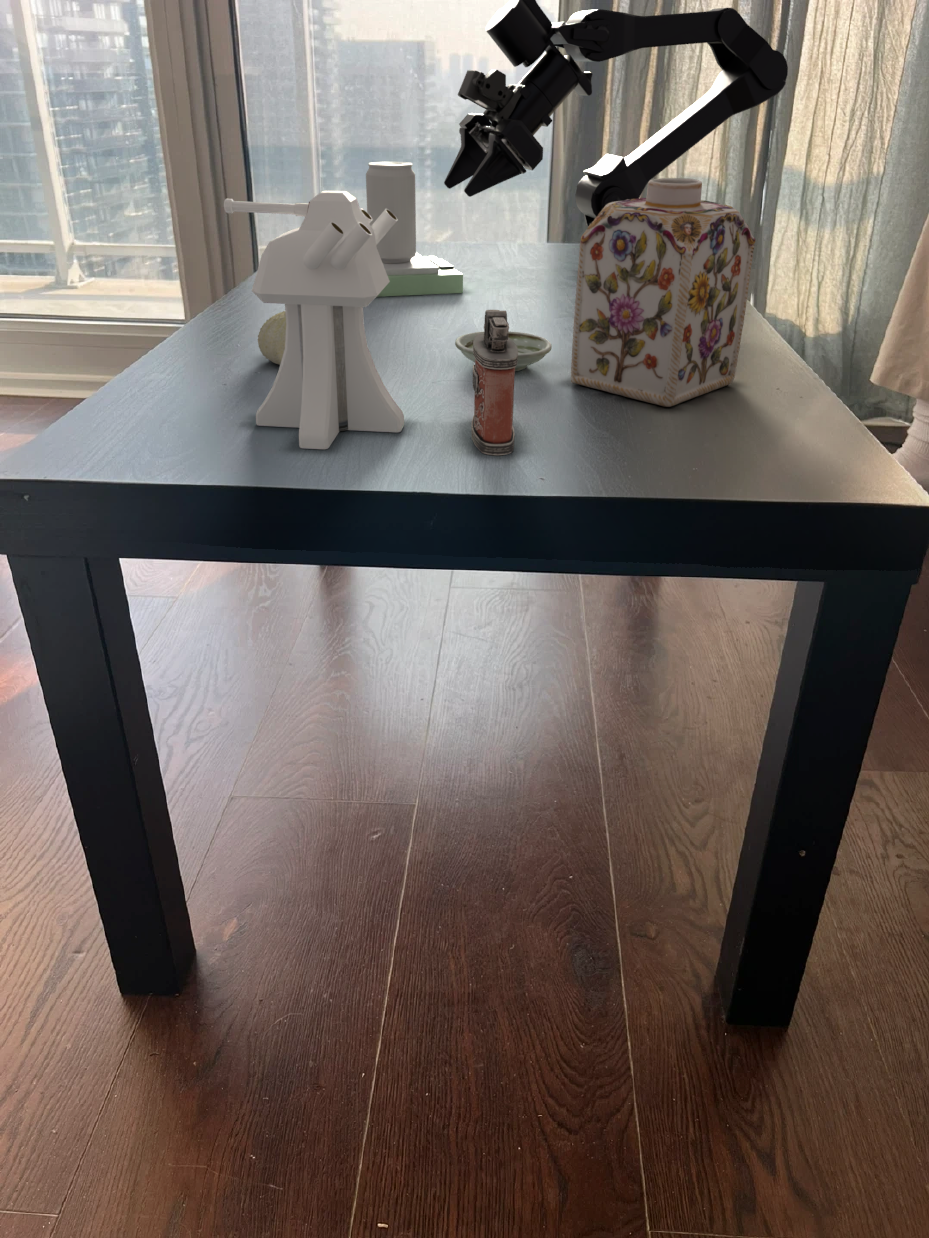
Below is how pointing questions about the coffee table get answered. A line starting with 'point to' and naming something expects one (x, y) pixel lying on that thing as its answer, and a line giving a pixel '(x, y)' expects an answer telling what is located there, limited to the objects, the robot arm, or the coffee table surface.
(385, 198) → the beverage can
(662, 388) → the decorative jar
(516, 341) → the saucer
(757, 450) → the coffee table surface
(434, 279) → the scale
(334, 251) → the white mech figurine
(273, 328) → the sea urchin shell
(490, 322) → the lighter
